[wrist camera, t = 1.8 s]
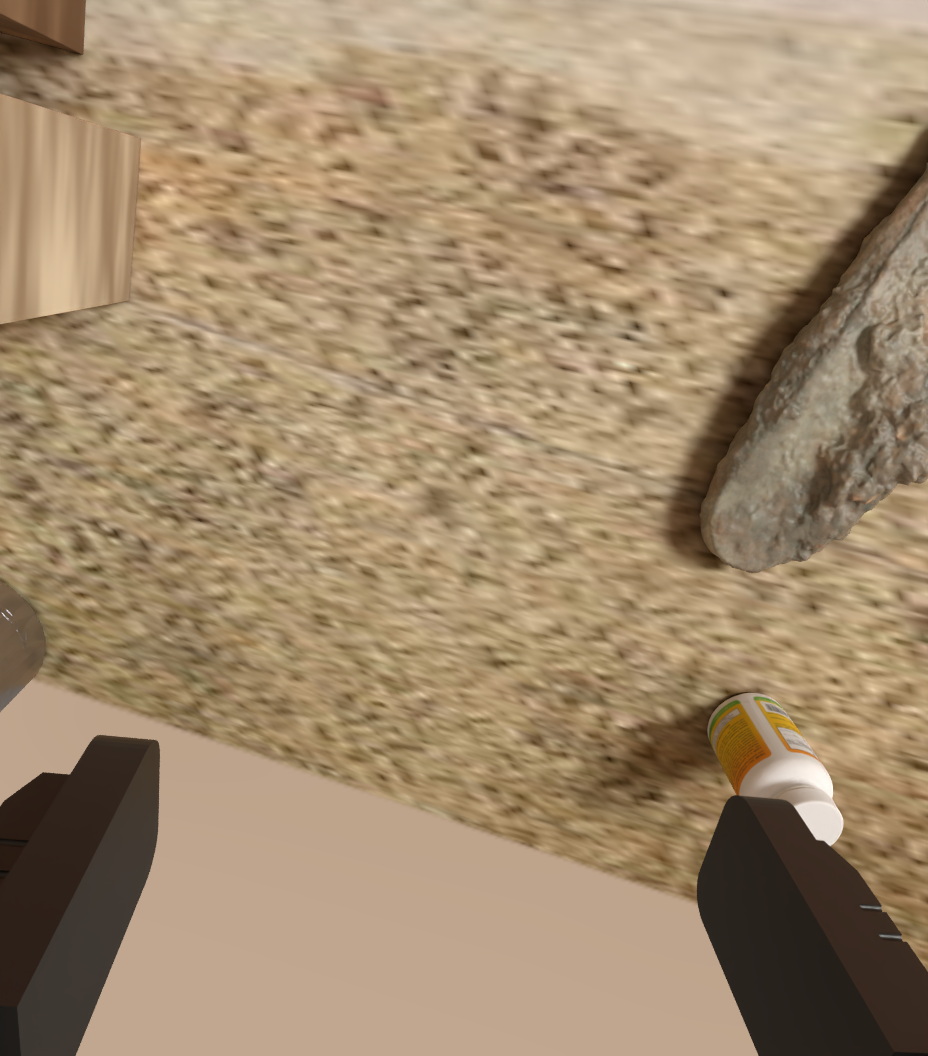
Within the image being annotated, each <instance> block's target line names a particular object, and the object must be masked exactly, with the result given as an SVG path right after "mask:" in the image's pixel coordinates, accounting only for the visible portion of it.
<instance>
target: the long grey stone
mask: <svg viewBox="0 0 928 1056" xmlns="http://www.w3.org/2000/svg"><path fill="white" fill-rule="evenodd" d="M927 479H928V162H927V163H926V171H925V172H924V174H923V175H922V176H921V177H920V179H919V180H918V181H917V183H916V184H915V185H914V186H913V187H912V188H911V189H910V191H909V192H908V193H907V194H906V196H905V197H904V198H903V199H902V200H901V201H900V202H899V203H898V205H897V206H896V208H895V209H894V211H893V212H892V214H890V215H889V216H887V217H885V218H884V219H883V220H882V221H881V222H880V224H879V225H878V226H876V227H875V228H874V229H873V230H872V231H871V232H870V234H868V235H867V236H866V237H865V238H864V239H863V241H862V244H861V246H860V251H859V252H858V254H857V257H856V259H855V260H854V261H853V262H852V263H851V265H850V267H848V269H847V270H846V272H845V273H844V274H842V275H841V277H840V282H839V283H838V286H837V287H836V288H834V289H833V290H832V295H831V296H830V297H829V298H828V299H827V300H826V302H824V303H823V304H822V305H821V307H820V311H819V313H818V314H817V315H816V316H815V317H813V318H812V320H811V322H810V323H809V324H808V325H806V326H804V327H803V328H802V329H801V330H800V332H799V333H798V334H797V336H796V337H795V338H794V341H793V342H792V343H791V344H790V345H788V346H787V347H785V349H784V350H783V352H782V355H781V357H780V358H779V360H778V362H777V364H776V365H775V366H774V368H773V370H772V372H771V380H770V381H769V383H768V384H766V385H765V387H764V389H763V390H762V391H761V392H760V393H759V395H758V396H757V399H756V400H755V402H754V406H753V410H752V413H751V414H750V417H749V419H748V421H747V422H746V423H745V424H744V425H743V426H742V427H741V428H740V429H739V431H738V432H737V433H736V434H735V437H734V439H733V441H732V442H731V443H730V444H729V449H728V452H727V454H726V456H725V457H724V458H723V459H722V460H721V461H720V462H719V463H718V464H717V470H716V472H715V474H714V478H713V479H712V482H711V484H710V486H709V490H708V492H707V496H706V498H705V499H704V500H703V502H702V504H701V513H700V514H699V516H700V520H701V527H700V528H701V533H702V538H703V540H704V543H705V545H706V546H707V547H708V549H709V550H710V551H711V552H712V553H713V554H715V555H716V556H717V557H719V558H720V560H721V561H722V562H723V563H725V564H726V565H730V566H731V567H732V568H736V569H740V570H743V571H747V572H749V573H758V572H760V571H762V570H765V569H767V568H771V567H774V566H776V565H779V564H785V563H787V562H789V561H791V560H794V561H799V562H802V561H806V560H808V559H809V558H810V556H811V555H812V554H814V553H816V552H820V551H821V550H823V549H824V548H825V547H826V546H827V545H828V544H829V542H831V541H832V540H843V539H844V538H845V537H846V536H847V535H848V534H849V533H850V531H851V528H852V527H853V526H854V525H856V524H857V523H858V521H859V519H860V518H861V516H862V515H863V514H864V513H865V512H867V511H869V510H872V509H873V508H874V507H875V506H876V505H877V504H878V502H879V501H881V500H883V499H884V498H885V497H886V496H888V495H889V494H890V493H891V492H892V491H893V489H894V488H895V487H896V485H897V484H898V483H900V484H905V485H910V483H911V482H914V483H923V482H925V481H926V480H927Z"/></svg>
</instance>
